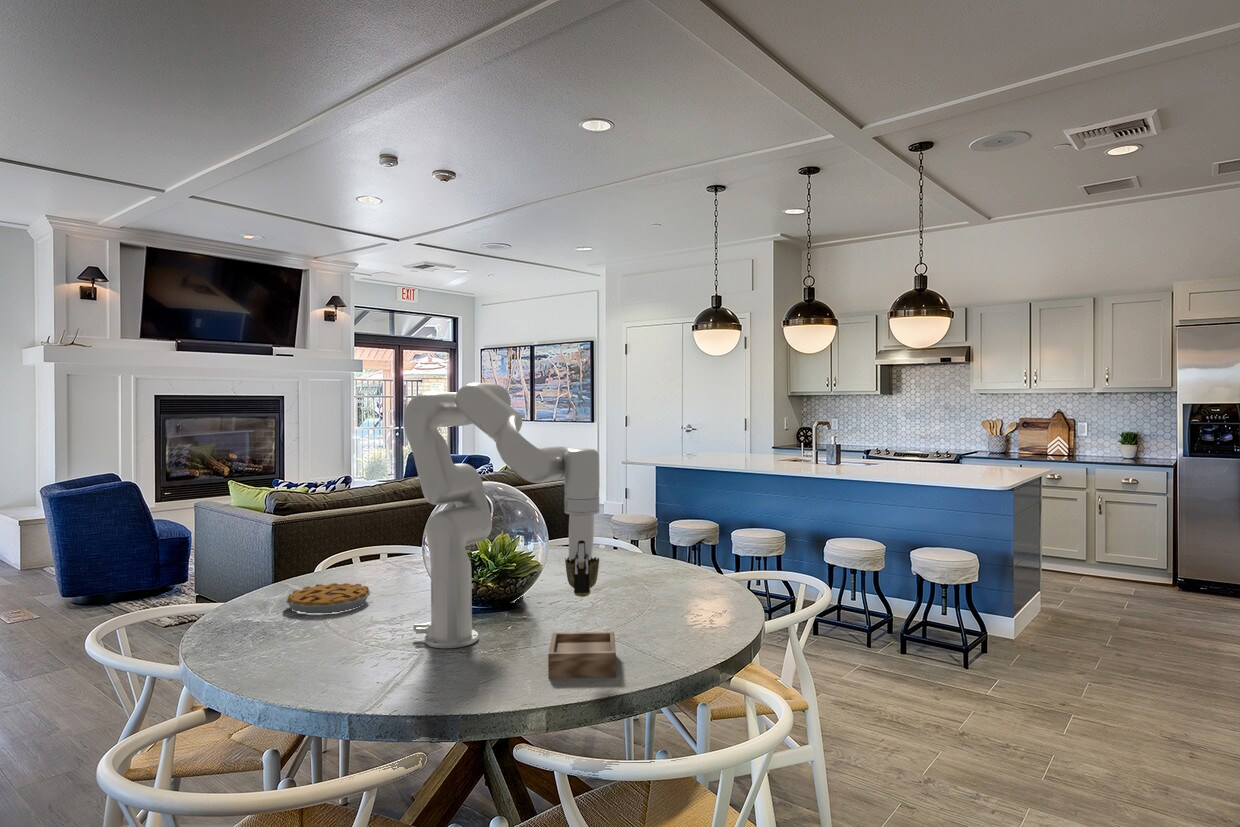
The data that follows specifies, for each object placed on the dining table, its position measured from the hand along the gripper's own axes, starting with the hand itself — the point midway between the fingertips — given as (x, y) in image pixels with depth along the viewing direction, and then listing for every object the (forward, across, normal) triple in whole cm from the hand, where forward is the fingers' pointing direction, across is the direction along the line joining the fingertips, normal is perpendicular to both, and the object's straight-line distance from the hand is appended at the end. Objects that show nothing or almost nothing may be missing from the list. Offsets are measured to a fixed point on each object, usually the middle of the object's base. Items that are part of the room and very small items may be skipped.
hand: (582, 587), depth 159 cm
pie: (+18, -50, -73) cm, 90 cm away
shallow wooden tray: (+17, 0, 0) cm, 17 cm away
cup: (+2, 0, 0) cm, 2 cm away
